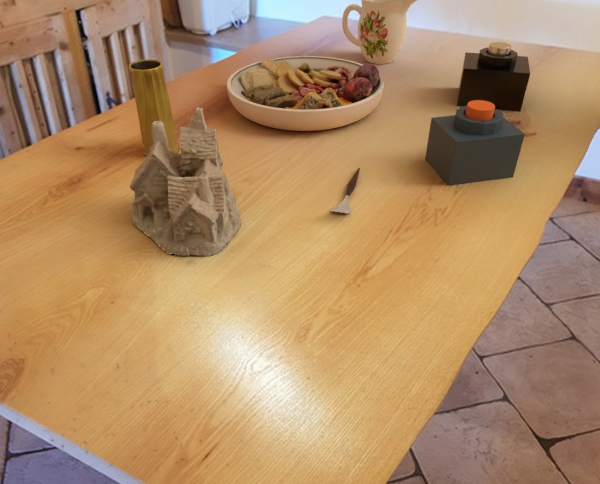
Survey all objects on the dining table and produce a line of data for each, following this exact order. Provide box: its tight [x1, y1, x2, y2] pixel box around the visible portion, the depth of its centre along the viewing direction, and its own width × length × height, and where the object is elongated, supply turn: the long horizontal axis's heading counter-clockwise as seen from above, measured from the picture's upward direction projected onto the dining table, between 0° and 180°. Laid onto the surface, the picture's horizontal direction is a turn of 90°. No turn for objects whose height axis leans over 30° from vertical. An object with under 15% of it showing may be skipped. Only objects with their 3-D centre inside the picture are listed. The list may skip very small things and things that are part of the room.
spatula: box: [328, 167, 361, 215], centre depth 81 cm, size 3×16×2 cm, turn 164°
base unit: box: [456, 46, 531, 112], centre depth 107 cm, size 12×10×9 cm
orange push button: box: [465, 100, 495, 120], centre depth 82 cm, size 4×4×2 cm
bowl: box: [226, 55, 385, 132], centre depth 106 cm, size 30×30×8 cm
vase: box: [128, 58, 180, 156], centre depth 89 cm, size 6×6×14 cm
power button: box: [487, 41, 512, 57], centre depth 104 cm, size 4×4×2 cm
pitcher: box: [341, 0, 418, 65], centre depth 125 cm, size 11×18×14 cm, turn 61°
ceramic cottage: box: [129, 106, 242, 257], centre depth 72 cm, size 16×16×15 cm
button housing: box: [424, 106, 526, 187], centre depth 85 cm, size 11×9×9 cm
